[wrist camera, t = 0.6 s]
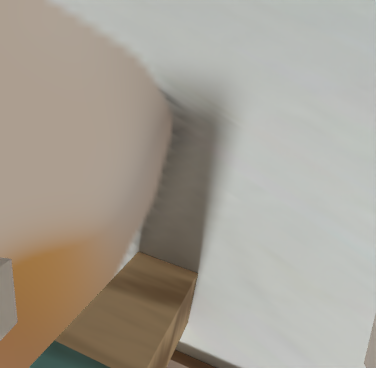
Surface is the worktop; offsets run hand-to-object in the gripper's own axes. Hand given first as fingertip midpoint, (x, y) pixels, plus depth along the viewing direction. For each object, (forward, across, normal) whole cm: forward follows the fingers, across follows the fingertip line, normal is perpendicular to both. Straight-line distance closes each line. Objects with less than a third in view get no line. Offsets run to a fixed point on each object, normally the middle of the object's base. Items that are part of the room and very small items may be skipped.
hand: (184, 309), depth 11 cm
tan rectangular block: (+16, -3, -10) cm, 19 cm away
